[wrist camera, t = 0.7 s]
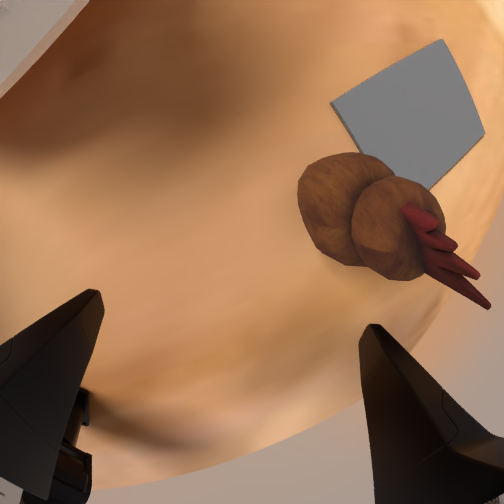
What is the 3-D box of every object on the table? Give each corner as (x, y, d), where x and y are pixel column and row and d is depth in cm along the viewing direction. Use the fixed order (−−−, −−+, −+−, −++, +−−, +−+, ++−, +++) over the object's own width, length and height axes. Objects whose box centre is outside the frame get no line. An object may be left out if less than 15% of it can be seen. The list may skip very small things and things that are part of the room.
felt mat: (393, 216, 23) (396, 217, 23) (329, 103, 19) (332, 102, 19) (481, 132, 22) (485, 133, 22) (439, 39, 18) (442, 38, 17)
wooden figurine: (362, 225, 23) (509, 315, 9) (298, 247, 23) (421, 380, 9) (347, 144, 20) (525, 165, 7) (277, 161, 20) (431, 198, 6)
